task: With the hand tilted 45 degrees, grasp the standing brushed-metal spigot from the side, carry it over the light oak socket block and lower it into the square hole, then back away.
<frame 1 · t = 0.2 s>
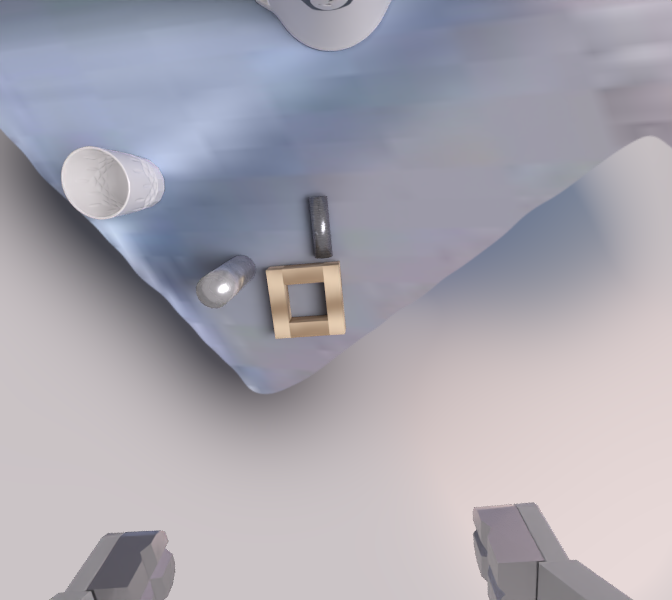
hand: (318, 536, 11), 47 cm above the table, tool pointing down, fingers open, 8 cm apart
socket block: (308, 297, 58), on the table
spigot: (242, 269, 57), on the table
white cup: (141, 182, 55), on the table
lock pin: (321, 226, 55), on the table
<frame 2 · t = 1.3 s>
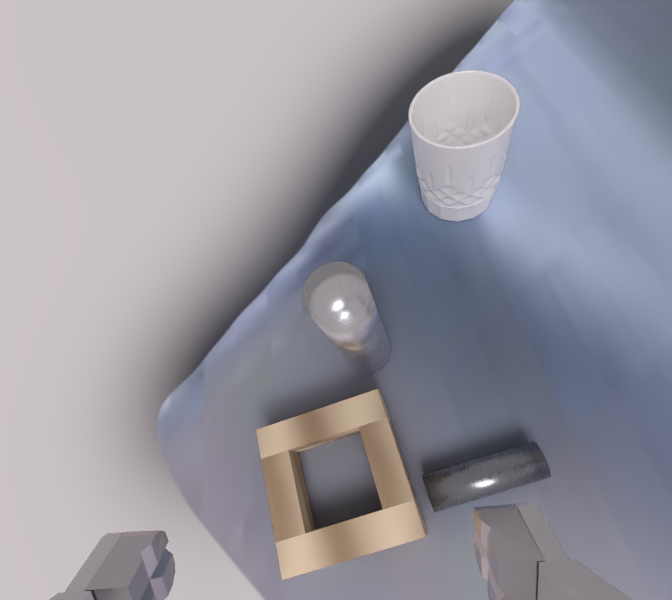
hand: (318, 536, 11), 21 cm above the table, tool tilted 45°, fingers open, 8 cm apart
socket block: (340, 478, 31), on the table
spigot: (367, 350, 34), on the table
white cup: (457, 194, 39), on the table
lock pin: (484, 481, 29), on the table, tilted 16°
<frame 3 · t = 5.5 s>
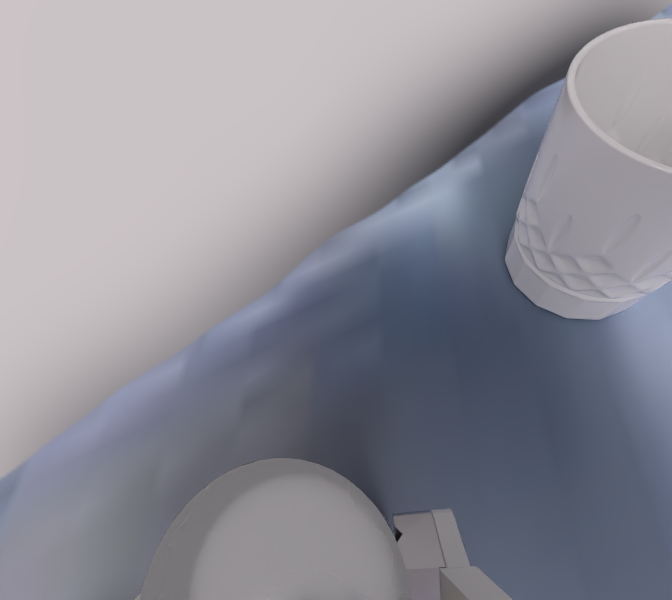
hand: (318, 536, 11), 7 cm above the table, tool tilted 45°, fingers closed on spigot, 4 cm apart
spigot: (342, 545, 16), on the table, touching gripper
white cup: (569, 265, 21), on the table
when the fingers open (8 cm above the table, at t = 10.0 s): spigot drops 1 cm, resting in socket block.
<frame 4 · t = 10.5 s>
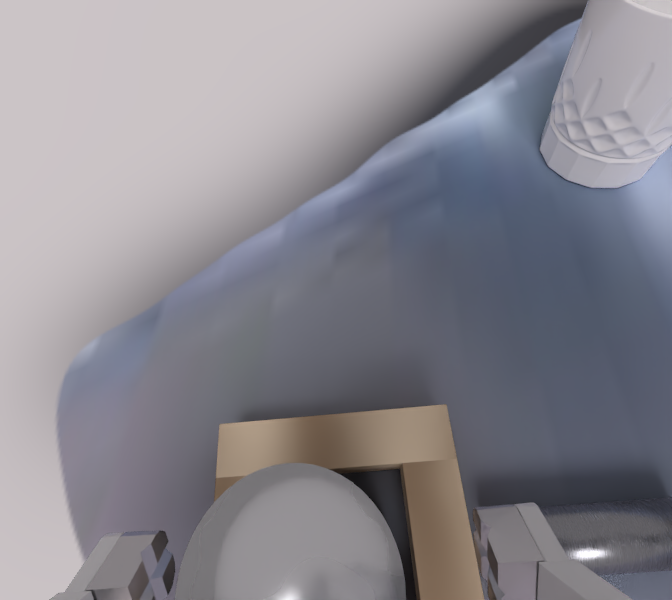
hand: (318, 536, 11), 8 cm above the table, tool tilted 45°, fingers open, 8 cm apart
socket block: (344, 543, 17), on the table
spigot: (344, 542, 17), resting in socket block
white cup: (592, 153, 27), on the table
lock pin: (614, 562, 15), point 2 cm above the table, tilted 142°
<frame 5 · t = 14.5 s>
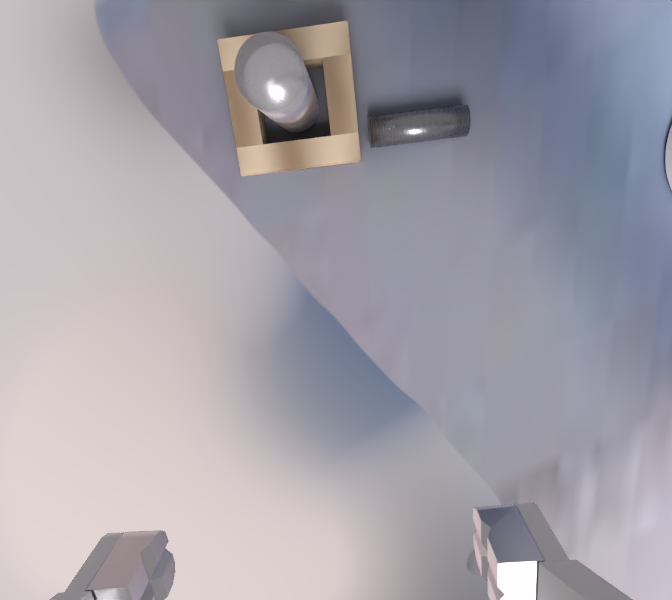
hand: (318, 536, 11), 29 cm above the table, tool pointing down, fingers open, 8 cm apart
socket block: (295, 107, 34), on the table
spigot: (295, 107, 34), resting in socket block
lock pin: (415, 131, 35), on the table, tilted 11°
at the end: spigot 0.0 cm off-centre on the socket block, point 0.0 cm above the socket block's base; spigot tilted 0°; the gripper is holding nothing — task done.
